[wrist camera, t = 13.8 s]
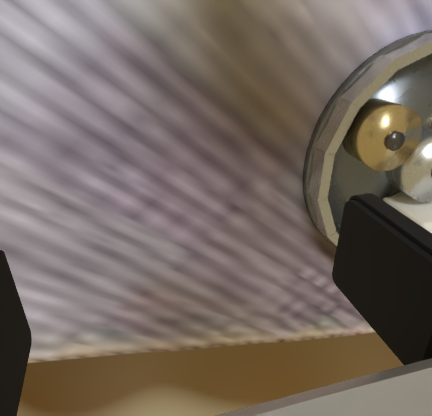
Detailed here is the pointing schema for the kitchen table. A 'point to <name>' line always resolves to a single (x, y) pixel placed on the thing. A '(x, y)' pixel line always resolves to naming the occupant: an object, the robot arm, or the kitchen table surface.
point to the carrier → (374, 134)
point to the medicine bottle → (413, 209)
